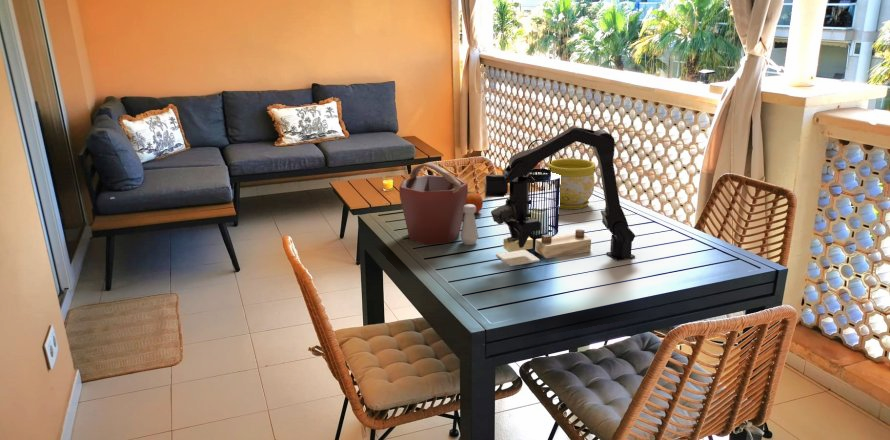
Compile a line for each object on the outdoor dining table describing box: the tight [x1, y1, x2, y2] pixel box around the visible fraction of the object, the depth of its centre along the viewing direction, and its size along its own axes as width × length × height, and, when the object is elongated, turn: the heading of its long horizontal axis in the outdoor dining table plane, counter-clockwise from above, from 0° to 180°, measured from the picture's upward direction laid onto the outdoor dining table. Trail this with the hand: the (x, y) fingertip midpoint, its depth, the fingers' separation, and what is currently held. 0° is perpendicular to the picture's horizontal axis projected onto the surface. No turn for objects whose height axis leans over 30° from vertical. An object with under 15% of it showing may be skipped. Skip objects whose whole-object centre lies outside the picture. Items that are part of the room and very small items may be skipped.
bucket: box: [398, 162, 469, 246], centre depth 232 cm, size 24×22×25 cm
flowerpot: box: [547, 158, 597, 210], centre depth 267 cm, size 18×18×16 cm
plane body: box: [534, 228, 592, 259], centre depth 219 cm, size 7×16×6 cm, turn 111°
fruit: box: [463, 190, 484, 215], centre depth 260 cm, size 11×10×8 cm
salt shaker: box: [460, 204, 479, 246], centre depth 227 cm, size 6×6×13 cm
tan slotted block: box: [502, 236, 534, 252], centre depth 213 cm, size 4×8×4 cm, turn 111°
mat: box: [495, 249, 541, 267], centre depth 215 cm, size 10×10×1 cm
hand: (518, 245), depth 213 cm, fingers closed on tan slotted block, 4 cm apart
